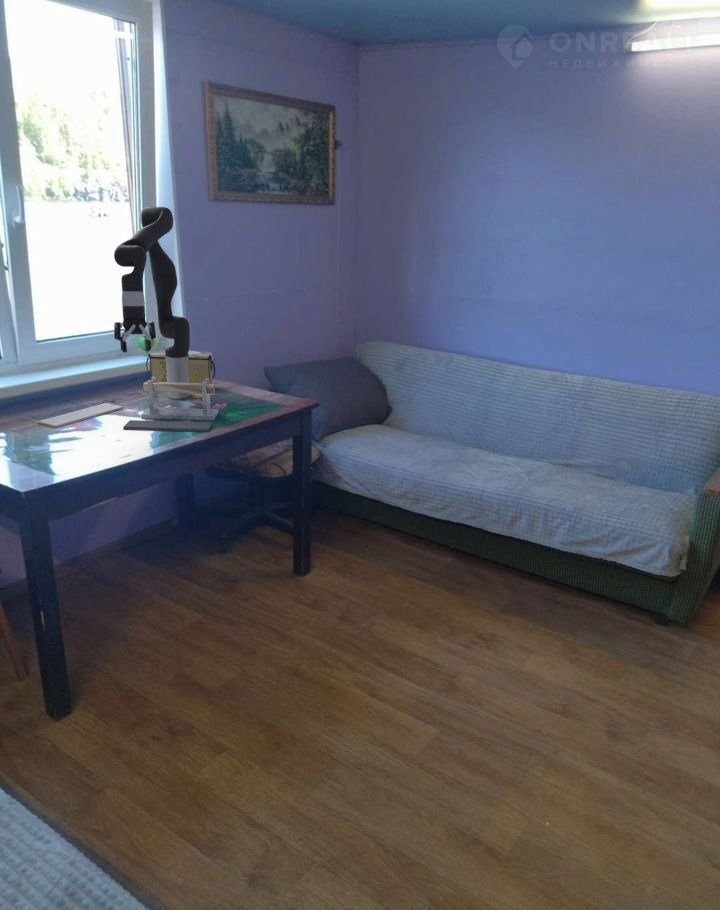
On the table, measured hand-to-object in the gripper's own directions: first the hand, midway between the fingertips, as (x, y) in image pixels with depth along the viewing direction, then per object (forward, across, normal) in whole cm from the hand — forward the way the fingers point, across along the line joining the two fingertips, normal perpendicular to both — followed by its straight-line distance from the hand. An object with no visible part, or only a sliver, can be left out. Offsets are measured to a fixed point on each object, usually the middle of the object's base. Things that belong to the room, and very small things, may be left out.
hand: (136, 351), depth 248 cm
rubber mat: (+27, -8, +7) cm, 29 cm away
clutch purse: (+19, -40, -44) cm, 62 cm away
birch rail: (+16, -17, -3) cm, 24 cm away
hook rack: (+25, -18, -4) cm, 31 cm away
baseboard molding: (+25, +12, -26) cm, 38 cm away
